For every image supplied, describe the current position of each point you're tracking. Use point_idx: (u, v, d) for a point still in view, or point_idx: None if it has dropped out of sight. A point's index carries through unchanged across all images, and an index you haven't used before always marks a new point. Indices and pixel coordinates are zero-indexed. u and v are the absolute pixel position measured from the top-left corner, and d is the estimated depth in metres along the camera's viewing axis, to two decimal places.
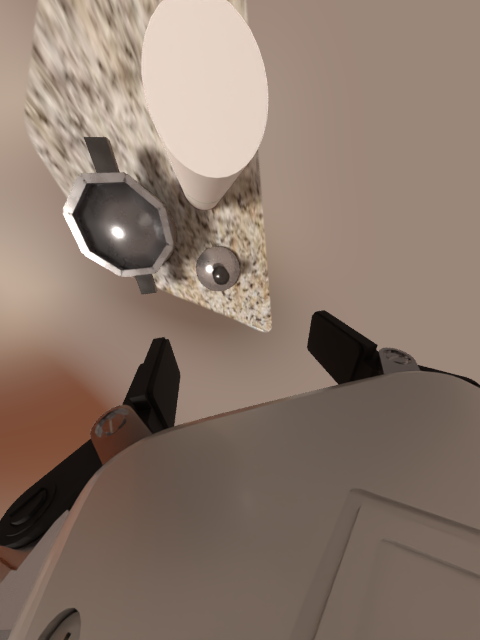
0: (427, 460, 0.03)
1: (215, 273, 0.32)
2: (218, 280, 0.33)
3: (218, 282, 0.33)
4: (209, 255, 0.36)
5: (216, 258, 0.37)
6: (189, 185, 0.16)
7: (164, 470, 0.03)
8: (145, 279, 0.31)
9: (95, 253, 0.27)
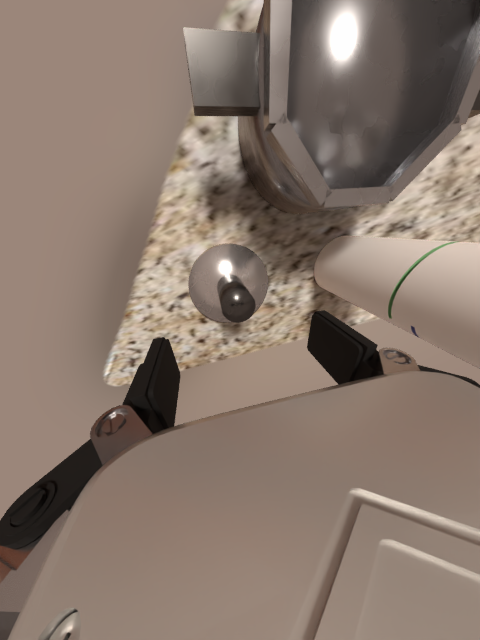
0: (427, 460, 0.03)
1: (246, 295, 0.15)
2: (231, 301, 0.15)
3: (227, 301, 0.15)
4: (255, 271, 0.21)
5: (249, 283, 0.21)
6: None
7: (164, 470, 0.03)
8: (238, 77, 0.09)
9: None
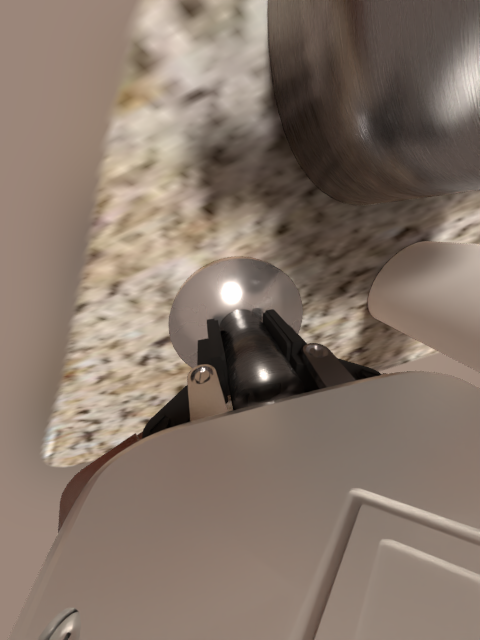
0: (427, 460, 0.03)
1: (289, 380, 0.07)
2: (255, 394, 0.07)
3: (246, 395, 0.07)
4: (284, 303, 0.12)
5: None
6: None
7: (164, 470, 0.03)
8: None
9: None
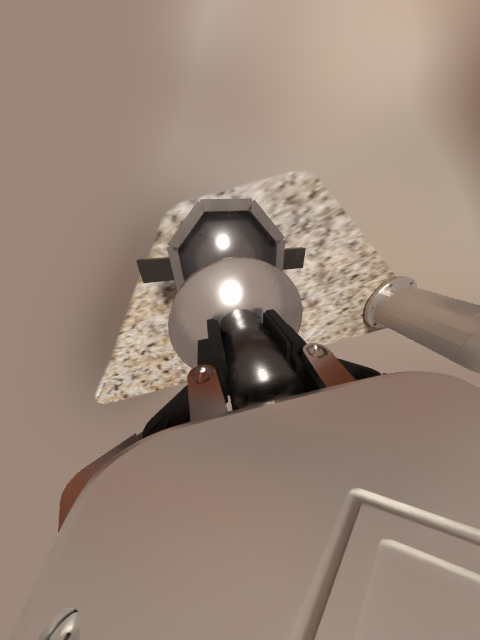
0: (427, 460, 0.03)
1: (288, 380, 0.07)
2: (254, 395, 0.07)
3: (245, 395, 0.07)
4: (283, 303, 0.12)
5: None
6: None
7: (164, 470, 0.03)
8: (164, 272, 0.20)
9: (200, 217, 0.18)
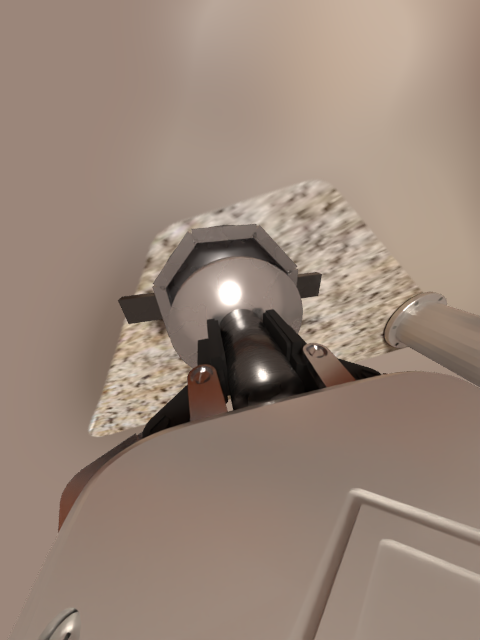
0: (427, 460, 0.03)
1: (289, 379, 0.07)
2: (255, 394, 0.07)
3: (246, 395, 0.07)
4: (284, 303, 0.12)
5: None
6: None
7: (164, 470, 0.03)
8: (152, 310, 0.17)
9: (192, 249, 0.14)
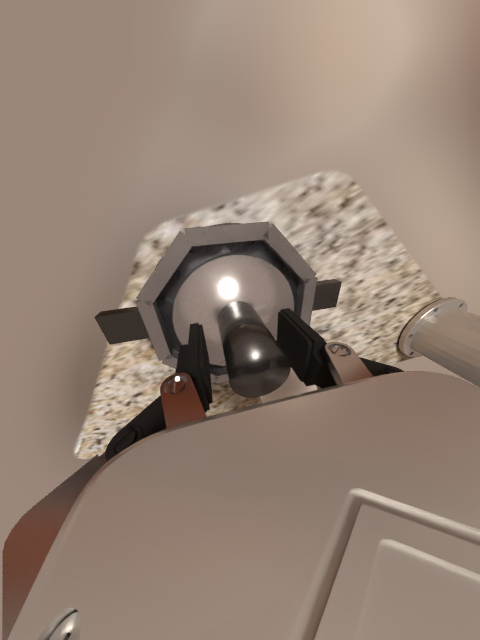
0: (427, 460, 0.03)
1: (277, 356, 0.08)
2: (247, 368, 0.08)
3: (240, 369, 0.08)
4: (277, 296, 0.13)
5: (267, 313, 0.14)
6: None
7: (164, 470, 0.03)
8: (139, 328, 0.14)
9: None
